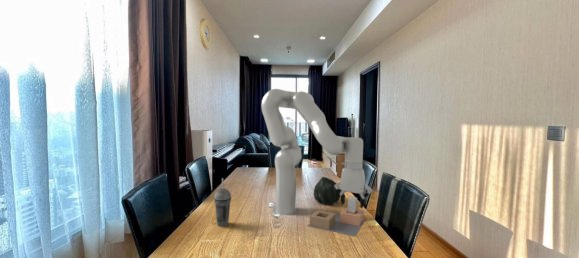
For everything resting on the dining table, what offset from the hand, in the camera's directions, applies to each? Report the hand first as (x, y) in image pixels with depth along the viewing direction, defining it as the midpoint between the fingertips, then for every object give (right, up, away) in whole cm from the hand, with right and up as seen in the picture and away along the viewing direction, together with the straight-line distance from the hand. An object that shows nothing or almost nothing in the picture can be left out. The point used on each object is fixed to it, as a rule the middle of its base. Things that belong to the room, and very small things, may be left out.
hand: (352, 205), depth 119 cm
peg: (0, -7, 0) cm, 7 cm away
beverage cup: (-56, -8, -2) cm, 57 cm away
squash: (-7, -7, +29) cm, 30 cm away
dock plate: (-7, -8, -2) cm, 11 cm away
